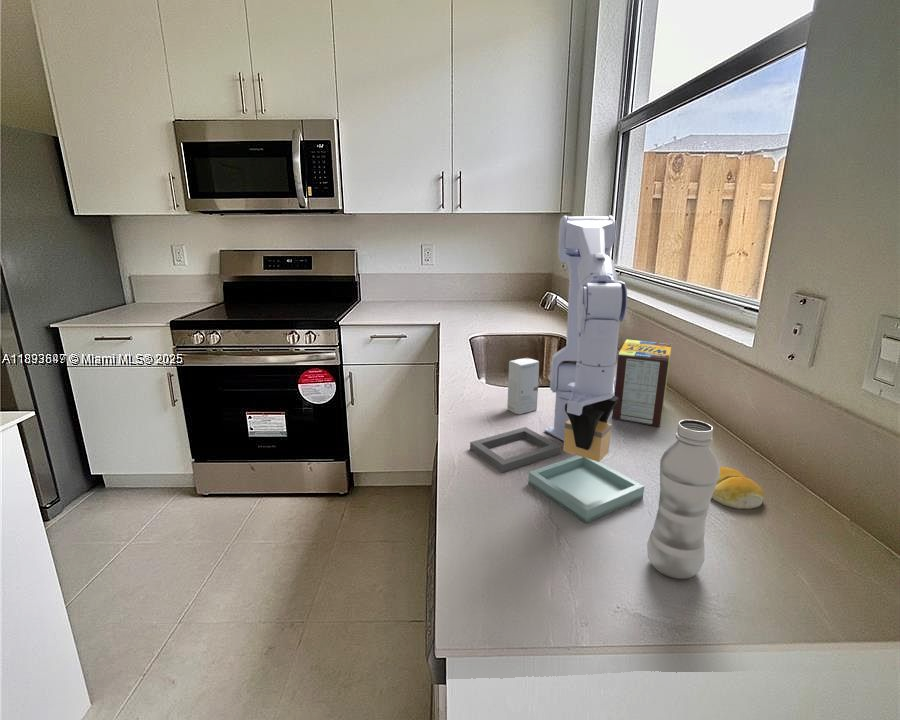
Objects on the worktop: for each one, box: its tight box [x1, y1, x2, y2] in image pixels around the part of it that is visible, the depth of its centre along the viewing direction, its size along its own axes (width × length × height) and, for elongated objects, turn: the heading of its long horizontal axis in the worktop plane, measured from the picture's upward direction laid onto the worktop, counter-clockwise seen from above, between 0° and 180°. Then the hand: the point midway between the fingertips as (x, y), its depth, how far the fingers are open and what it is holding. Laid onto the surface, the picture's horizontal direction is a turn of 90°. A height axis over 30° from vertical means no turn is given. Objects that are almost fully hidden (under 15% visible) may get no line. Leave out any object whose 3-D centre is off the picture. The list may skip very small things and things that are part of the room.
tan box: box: [563, 420, 613, 462], centre depth 76 cm, size 4×6×5 cm
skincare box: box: [506, 357, 540, 415], centre depth 111 cm, size 6×4×12 cm
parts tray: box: [528, 455, 645, 524], centre depth 78 cm, size 13×13×2 cm
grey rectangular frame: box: [469, 426, 562, 473], centre depth 92 cm, size 14×10×2 cm
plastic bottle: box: [646, 419, 721, 580], centre depth 58 cm, size 6×7×20 cm
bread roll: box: [711, 466, 765, 510], centre depth 77 cm, size 8×9×4 cm
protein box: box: [611, 339, 672, 428], centre depth 109 cm, size 10×15×16 cm
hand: (588, 442), depth 76 cm, fingers closed on tan box, 4 cm apart
